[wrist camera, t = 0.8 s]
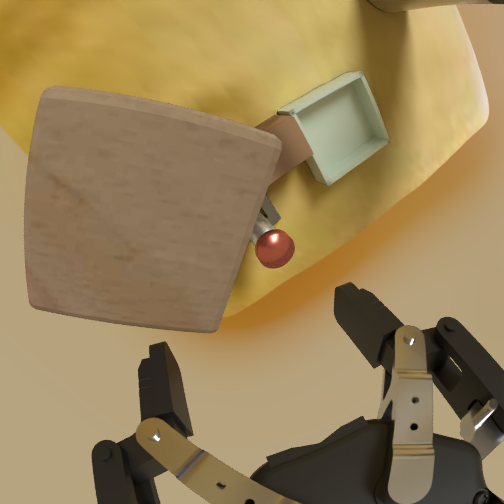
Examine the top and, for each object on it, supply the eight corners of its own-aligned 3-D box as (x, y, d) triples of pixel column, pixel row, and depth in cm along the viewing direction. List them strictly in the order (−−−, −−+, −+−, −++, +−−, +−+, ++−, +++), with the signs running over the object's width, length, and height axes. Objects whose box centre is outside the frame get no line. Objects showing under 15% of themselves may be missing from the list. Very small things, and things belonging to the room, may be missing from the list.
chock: (274, 114, 29) (293, 116, 25) (292, 146, 31) (313, 153, 27) (229, 143, 29) (242, 149, 25) (251, 175, 32) (266, 186, 27)
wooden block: (182, 208, 31) (218, 338, 14) (96, 192, 27) (27, 311, 10) (208, 121, 27) (290, 140, 10) (117, 100, 23) (39, 84, 6)
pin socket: (252, 176, 32) (255, 178, 31) (278, 216, 35) (281, 218, 34) (208, 208, 32) (209, 211, 31) (237, 246, 35) (239, 248, 35)
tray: (347, 72, 28) (361, 70, 26) (375, 138, 34) (390, 141, 31) (277, 110, 29) (288, 111, 26) (315, 180, 34) (328, 186, 32)
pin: (249, 192, 32) (283, 226, 24) (263, 214, 34) (300, 252, 26) (225, 210, 33) (251, 250, 24) (240, 231, 34) (270, 275, 26)
